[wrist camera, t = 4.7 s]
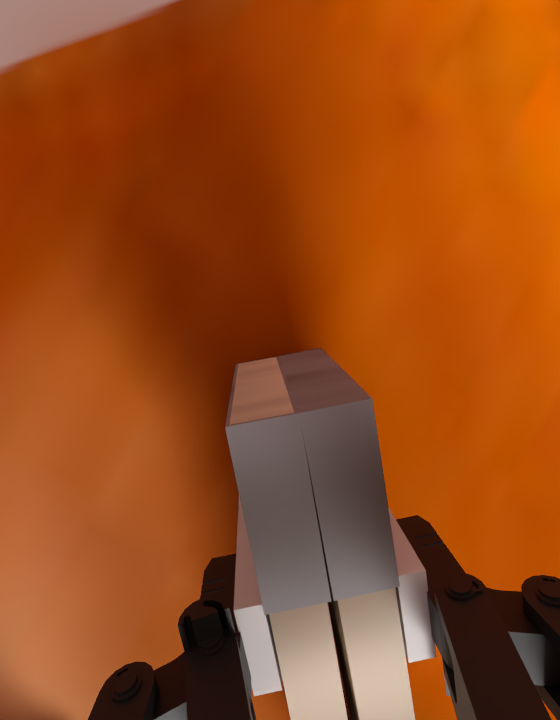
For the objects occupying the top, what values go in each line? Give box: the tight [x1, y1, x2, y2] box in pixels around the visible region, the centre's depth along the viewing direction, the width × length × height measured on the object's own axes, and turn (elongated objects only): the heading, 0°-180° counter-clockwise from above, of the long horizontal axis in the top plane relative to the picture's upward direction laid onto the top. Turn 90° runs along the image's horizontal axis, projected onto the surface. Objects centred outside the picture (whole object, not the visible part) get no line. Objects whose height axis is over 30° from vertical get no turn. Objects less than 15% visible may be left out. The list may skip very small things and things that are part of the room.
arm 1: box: [279, 348, 415, 720], centre depth 15 cm, size 22×2×7 cm, turn 11°
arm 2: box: [225, 356, 348, 720], centre depth 15 cm, size 22×2×7 cm, turn 10°
